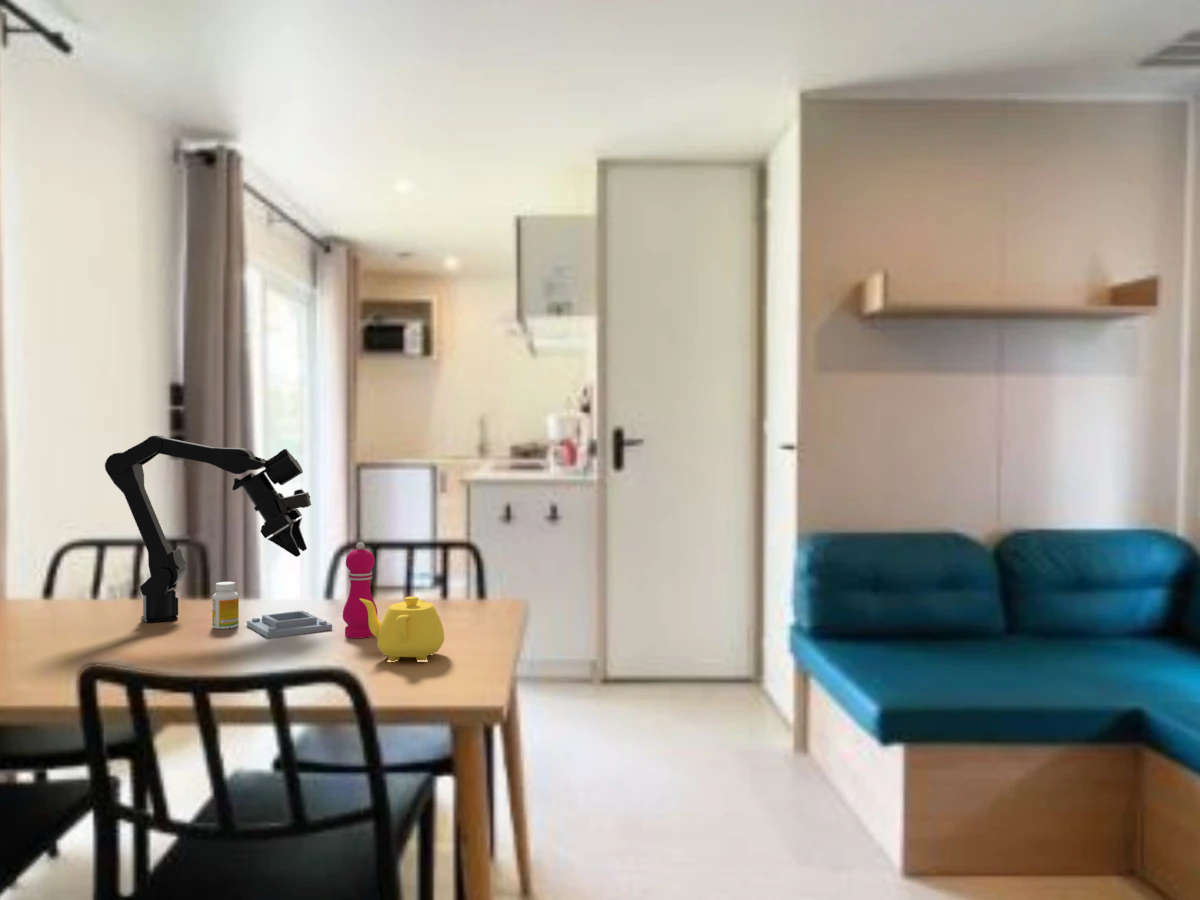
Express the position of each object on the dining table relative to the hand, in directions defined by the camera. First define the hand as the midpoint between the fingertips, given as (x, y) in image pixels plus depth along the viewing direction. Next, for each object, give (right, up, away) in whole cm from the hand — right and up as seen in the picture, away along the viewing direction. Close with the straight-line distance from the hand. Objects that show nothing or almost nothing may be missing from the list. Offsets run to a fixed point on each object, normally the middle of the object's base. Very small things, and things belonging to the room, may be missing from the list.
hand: (302, 552), depth 220 cm
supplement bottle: (-13, -15, -11) cm, 23 cm away
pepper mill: (+18, -16, -17) cm, 29 cm away
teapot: (+30, -17, -35) cm, 49 cm away
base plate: (+1, -15, -11) cm, 19 cm away
